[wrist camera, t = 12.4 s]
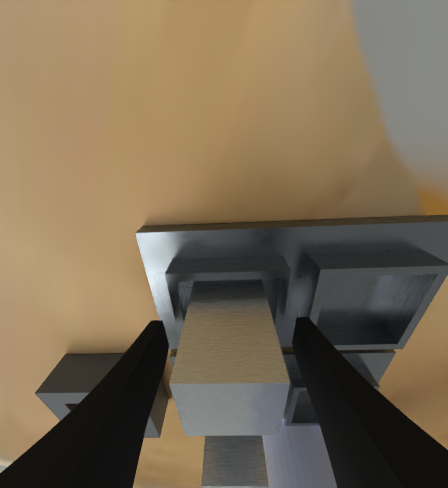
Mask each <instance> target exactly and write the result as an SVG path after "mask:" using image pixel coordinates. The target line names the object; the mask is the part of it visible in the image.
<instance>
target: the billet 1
mask: <svg viewBox="0 0 448 488" xmlns="http://www.w3.org/2000/svg"><path fill="white" fill-rule="evenodd" d="M169 386H170V389H171V392H172V395H173V398H174V401H175V404H176V407H177V411H178V414H179V417H180V420H181V423H182V426H183V429H184V433H185V436H239V435H280V430H281V425H282V420H283V415H284V410H285V405H286V401H287V396H288V391H289V386H290V380H289V376H288V373H287V369H286V365H285V362H284V358H283V355H282V351H281V347H280V344H279V340H278V336H277V333H276V329H275V325H274V322H273V318H272V315H271V311H270V307H269V304H268V300H267V296H266V293H265V289H264V285H263V282H262V279H252V280H218V281H194V283H193V287H192V292H191V296H190V300H189V304H188V308H187V312H186V316H185V321H184V325H183V329H182V333H181V337H180V341H179V345H178V349H177V354H176V358H175V362H174V366H173V370H172V374H171V378H170V382H169Z"/></svg>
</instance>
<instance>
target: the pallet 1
mask: <svg viewBox="0 0 448 488" xmlns="http://www.w3.org/2000/svg"><path fill="white" fill-rule="evenodd" d="M135 234H136V238H137V241H138V245H139V248H140V252H141V256H142V259H143V263H144V266H145V270H146V273H147V277H148V280H149V284H150V288H151V291H152V295H153V298H154V302H155V305H156V309H157V313H158V316H159V320H163V324H164V327H165V331H166V335H167V338H168V342H169V349H178V345H179V341H180V337H181V333H182V329H183V325H184V321H185V316H186V312H187V308H188V304H189V300H190V296H191V292H192V287H193V283H194V281H218V280H252V279H262V282H263V285H264V289H265V293H266V296H267V300H268V304H269V307H270V311H271V315H272V318H273V322H274V325H275V329H276V333H277V336H278V340H279V344H280V347H293V345H292V339H293V333H294V328H295V322H296V317H309V318H310V319H311V321H312V322H313V323H314V324H315V325H316V326H317V328H318V329H319V330H320V331H321V332H322V333H323V335H324V336H325V337H326V338H327V339H328V340H329V341H330V342H331V344H332V345H333V346H334V347H335V348H336V349H337V350H373V349H403V348H404V346H405V344H406V343H407V341H408V339H409V338H410V336H411V334H412V333H413V331H414V329H415V328H416V326H417V324H418V323H419V321H420V319H421V318H422V316H423V314H424V313H425V311H426V309H427V308H428V306H429V305H430V303H431V301H432V300H433V298H434V296H435V295H436V293H437V291H438V290H439V288H440V286H441V285H442V283H443V281H444V280H445V278H446V276H447V275H448V215H430V216H403V217H377V218H351V219H324V220H298V221H272V222H245V223H219V224H192V225H166V226H142V227H141V228H140V229H139V230H138V231H137V232H136V233H135Z"/></svg>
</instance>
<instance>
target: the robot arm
mask: <svg viewBox="0 0 448 488" xmlns="http://www.w3.org/2000/svg"><path fill="white" fill-rule="evenodd" d="M292 345H293V349H294V353H295V357H296V361H297V364H298V367H299V370H300V373H301V375H302V378H303V381H304V384H305V386H306V389H307V392H308V394H309V397H310V400H311V402H312V405H313V408H314V411H315V413H316V416H317V419H318V422H319V425H320V426H285V423H284V419H283V420H282V425H281V430H280V435H262V437H263V445H264V452H265V456H266V464H267V472H268V480H269V488H448V450H447V449H446V448H445V447H443V446H442V445H441V444H440V443H438V442H437V441H436V440H435V439H433V438H432V437H431V436H430V435H429V434H427V433H426V432H425V431H424V430H422V429H421V428H420V427H419V426H418V425H416V424H415V423H414V422H413V421H411V420H410V419H409V418H408V417H407V416H406V415H404V414H403V413H402V412H401V411H400V410H399V409H398V408H396V407H395V406H394V405H393V404H392V403H391V402H390V401H389V400H387V399H386V398H385V397H384V396H383V395H382V394H381V393H380V392H379V391H378V390H377V389H375V388H374V387H373V386H372V385H371V384H370V383H369V382H368V381H367V380H366V379H365V378H364V377H363V376H362V375H361V374H360V373H359V372H358V371H357V370H356V369H355V368H354V367H353V366H352V365H351V364H350V363H349V362H348V361H347V360H346V359H345V358H344V357H343V355H342V354H341V353H340V352H339V351H338V350H337V349H336V348H335V347H334V346H333V345H332V344H331V342H330V341H329V340H328V339H327V338H326V337H325V336H324V335H323V333H322V332H321V331H320V330H319V329H318V328H317V326H316V325H315V324H314V323H313V322H312V321H311V319H310V318H309V317H296V322H295V328H294V333H293V339H292ZM168 349H169V342H168V338H167V335H166V331H165V327H164V324H163V320H154V321H151V322H150V323H149V324H148V325H147V327H146V328H145V329H144V330H143V332H142V333H141V334H140V335H139V337H138V338H137V339H136V340H135V342H134V343H133V344H132V345H131V347H130V348H129V349H128V350H127V351H126V353H125V354H124V355H123V356H122V357H121V359H120V360H119V361H118V362H117V363H116V364H115V365H114V367H113V368H112V369H111V370H110V371H109V372H108V373H107V374H106V375H105V377H104V378H103V379H102V380H101V381H100V382H99V383H98V384H97V385H96V386H95V387H94V388H93V389H92V390H91V392H90V393H89V394H88V395H87V396H86V397H85V398H84V399H83V400H82V401H81V402H80V403H79V404H78V405H77V406H76V407H75V408H73V409H72V410H71V411H70V412H69V413H68V414H67V415H66V416H65V417H64V418H63V419H62V420H61V421H60V422H59V423H58V424H57V425H55V426H54V427H53V428H52V429H51V430H50V431H49V432H48V433H47V434H46V435H44V436H43V437H42V438H41V439H40V440H39V441H38V442H36V443H35V444H34V445H33V446H32V447H31V448H29V449H28V450H27V451H26V452H25V453H24V454H22V455H21V456H20V457H19V458H18V459H17V460H15V461H14V462H13V463H12V464H11V465H10V466H9V467H7V468H6V469H5V470H4V471H2V472H1V473H0V488H133V483H134V478H135V474H136V469H137V465H138V460H139V456H140V451H141V447H142V443H143V438H144V434H145V430H146V426H147V423H148V419H149V416H150V412H151V409H152V406H153V403H154V400H155V397H156V393H157V390H158V387H159V384H160V381H161V377H162V374H163V371H164V368H165V364H166V359H167V354H168Z"/></svg>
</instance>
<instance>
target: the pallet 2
mask: <svg viewBox="0 0 448 488" xmlns="http://www.w3.org/2000/svg"><path fill="white" fill-rule="evenodd" d="M281 351H282V355H283V358H284V362H285V365H286V369H287V373H288V376H289V380H290V386H289V391H288V396H287V401H286V405H285V410H284V415H283V419H284V423H285V426H320V425H319V422H318V419H317V416H316V413H315V411H314V408H313V405H312V402H311V400H310V397H309V394H308V392H307V389H306V386H305V384H304V381H303V378H302V375H301V373H300V370H299V367H298V364H297V361H296V357H295V353H294V349H293V347H281ZM338 351H339V352H340V353H341V354H342V355H343V357H344V358H345V359H346V360H347V361H348V362H349V363H350V364H351V365H352V366H353V367H354V368H355V369H356V370H357V371H358V372H359V373H360V374H361V375H362V376H363V377H364V378H365V379H366V380H367V381H368V382H369V383H370V384H371V385H372V386H373V387H374V388H375V389H377V390H378V389H379V387H380V386H379V385H378V382H379V381H380V379H381V377H382V376H383V374H384V372H385V370H386V369H387V367H388V365H389V364H390V362H391V360H392V359H393V357H394V355H395V353H396V352H395V351H394V350H393V349H373V350H338ZM176 354H177V349H172V351H171V355H170V359H171V362H172V366H174V362H175V358H176Z"/></svg>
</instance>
